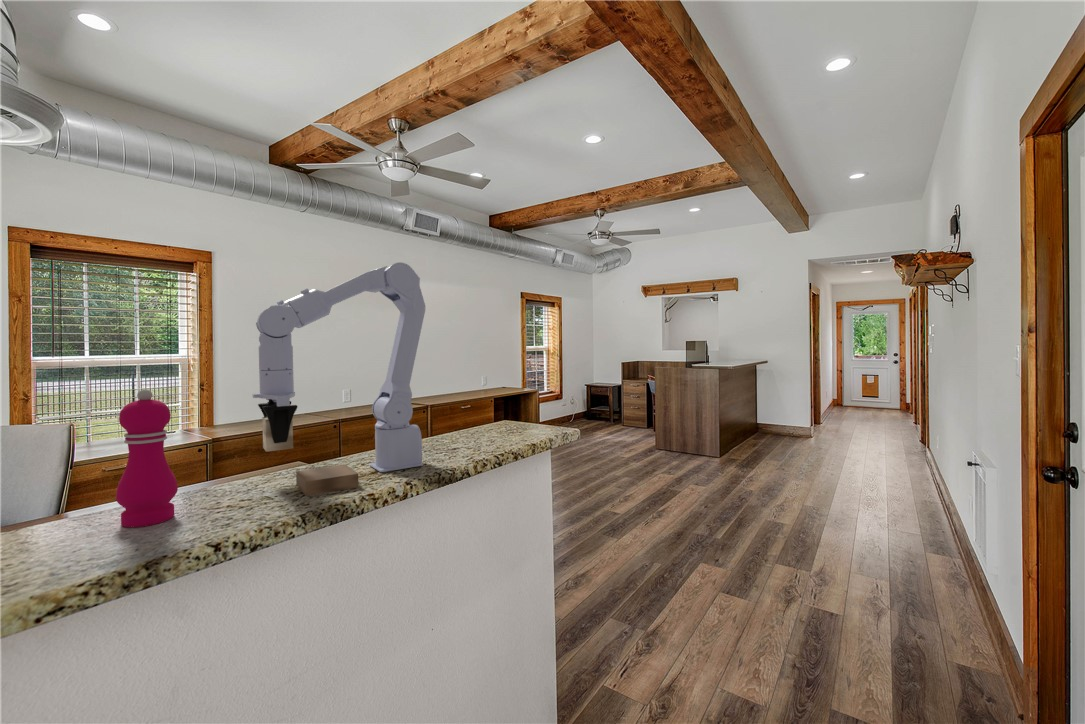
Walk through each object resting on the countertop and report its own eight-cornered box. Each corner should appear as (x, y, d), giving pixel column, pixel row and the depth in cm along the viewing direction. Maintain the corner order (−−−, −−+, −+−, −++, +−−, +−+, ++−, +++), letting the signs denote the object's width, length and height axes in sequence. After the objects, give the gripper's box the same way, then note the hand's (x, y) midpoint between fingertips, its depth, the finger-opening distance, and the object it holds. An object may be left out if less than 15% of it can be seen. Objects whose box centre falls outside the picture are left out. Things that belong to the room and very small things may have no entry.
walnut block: (345, 479, 96) (345, 464, 96) (358, 489, 89) (358, 473, 89) (296, 486, 91) (296, 471, 91) (305, 498, 84) (305, 481, 84)
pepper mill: (146, 511, 76) (142, 387, 75) (190, 512, 76) (186, 387, 75) (102, 529, 69) (98, 391, 68) (151, 529, 69) (147, 391, 68)
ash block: (289, 444, 95) (288, 414, 94) (293, 448, 91) (292, 417, 91) (263, 447, 92) (262, 416, 92) (266, 451, 88) (265, 419, 88)
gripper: (247, 369, 94) (249, 437, 95) (257, 372, 83) (259, 449, 83) (287, 368, 99) (289, 433, 99) (301, 370, 87) (303, 444, 88)
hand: (278, 440), depth 92 cm, fingers closed on ash block, 4 cm apart
